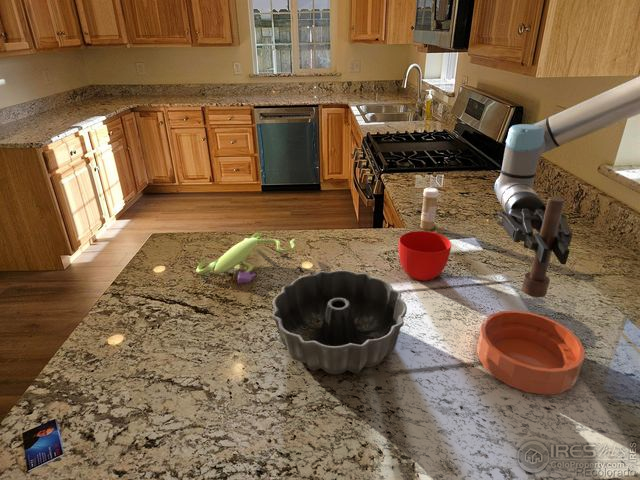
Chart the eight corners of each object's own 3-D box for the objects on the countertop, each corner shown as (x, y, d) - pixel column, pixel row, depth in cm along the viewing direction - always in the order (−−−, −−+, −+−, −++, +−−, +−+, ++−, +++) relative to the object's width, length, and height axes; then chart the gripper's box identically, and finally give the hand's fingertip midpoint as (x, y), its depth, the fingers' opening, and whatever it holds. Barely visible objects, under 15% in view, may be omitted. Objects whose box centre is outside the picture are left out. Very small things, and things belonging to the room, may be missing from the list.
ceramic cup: (455, 264, 117) (461, 231, 113) (438, 293, 104) (442, 258, 100) (411, 253, 123) (414, 222, 119) (388, 280, 110) (391, 245, 106)
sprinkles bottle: (417, 226, 141) (421, 188, 135) (430, 225, 142) (434, 186, 136) (423, 232, 137) (428, 192, 131) (436, 230, 138) (441, 191, 132)
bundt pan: (259, 383, 78) (255, 340, 73) (288, 302, 101) (286, 266, 97) (405, 398, 74) (410, 353, 70) (400, 310, 98) (404, 273, 94)
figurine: (305, 256, 122) (305, 238, 120) (233, 296, 104) (231, 276, 101) (261, 238, 133) (260, 222, 131) (189, 272, 114) (186, 253, 112)
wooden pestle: (547, 288, 83) (571, 197, 75) (545, 299, 80) (570, 205, 71) (523, 282, 85) (544, 193, 77) (519, 293, 82) (541, 200, 73)
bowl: (577, 351, 85) (585, 327, 82) (573, 412, 71) (583, 385, 69) (486, 324, 93) (491, 301, 90) (467, 374, 80) (471, 349, 77)
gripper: (557, 225, 94) (598, 279, 73) (483, 220, 97) (502, 271, 76) (565, 193, 91) (611, 240, 70) (488, 188, 93) (510, 233, 73)
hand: (554, 256), depth 73 cm, fingers closed on wooden pestle, 3 cm apart
